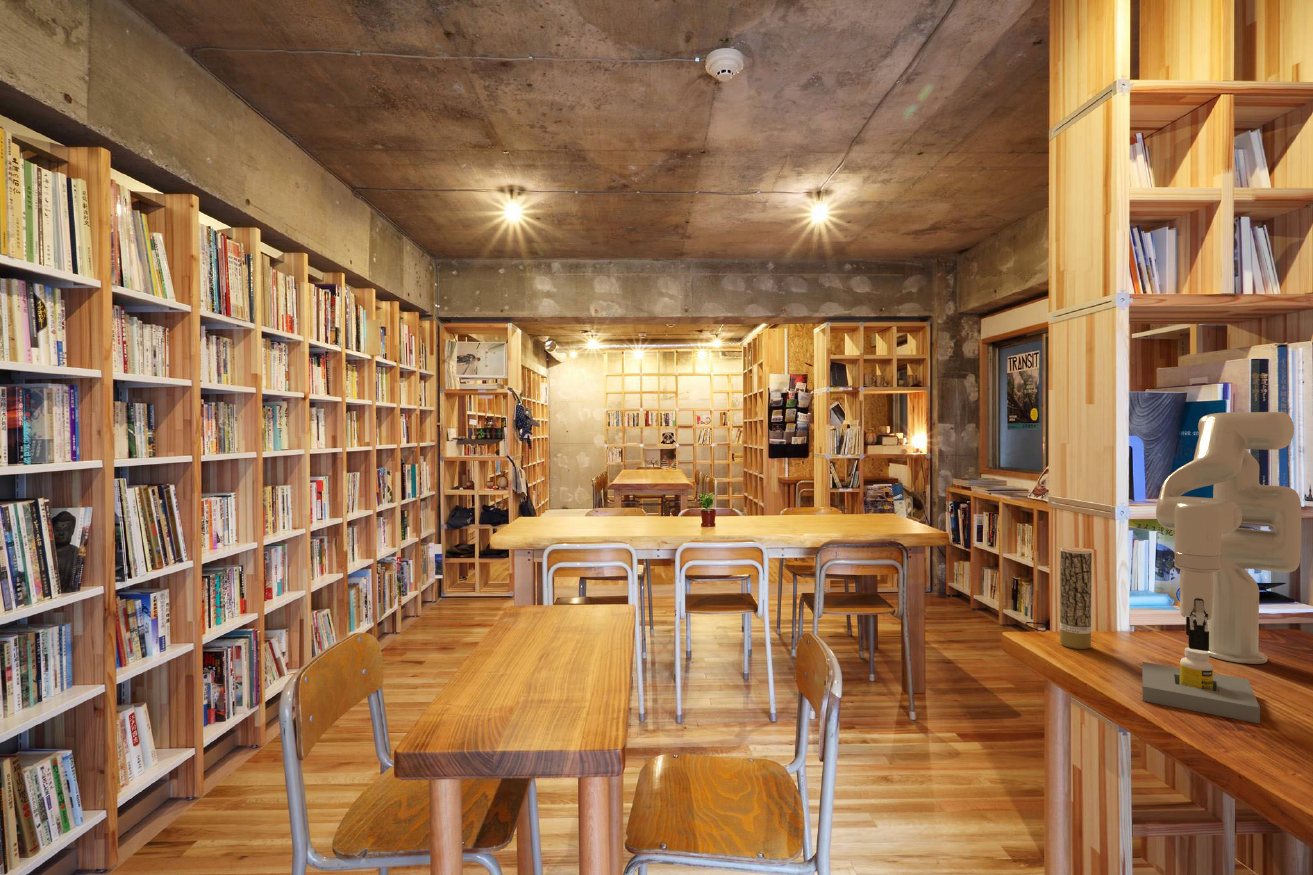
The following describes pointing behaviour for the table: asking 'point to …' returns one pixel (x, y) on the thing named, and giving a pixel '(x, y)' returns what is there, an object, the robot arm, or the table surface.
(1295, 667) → the table surface
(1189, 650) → the supplement bottle
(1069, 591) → the paper tube
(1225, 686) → the socket board
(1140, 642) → the table surface
